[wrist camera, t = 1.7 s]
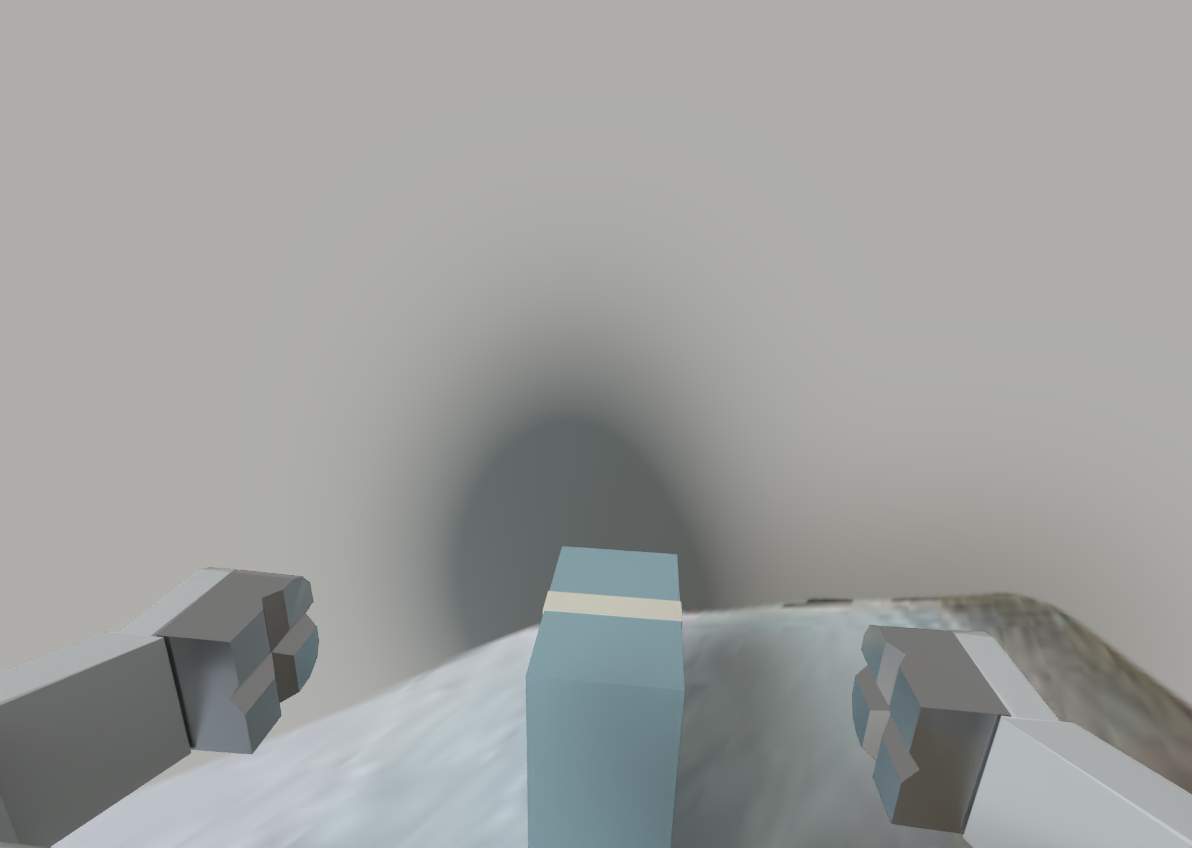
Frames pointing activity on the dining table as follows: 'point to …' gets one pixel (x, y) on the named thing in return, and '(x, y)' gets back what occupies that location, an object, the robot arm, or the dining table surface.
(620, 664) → the gift box
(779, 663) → the dining table surface
